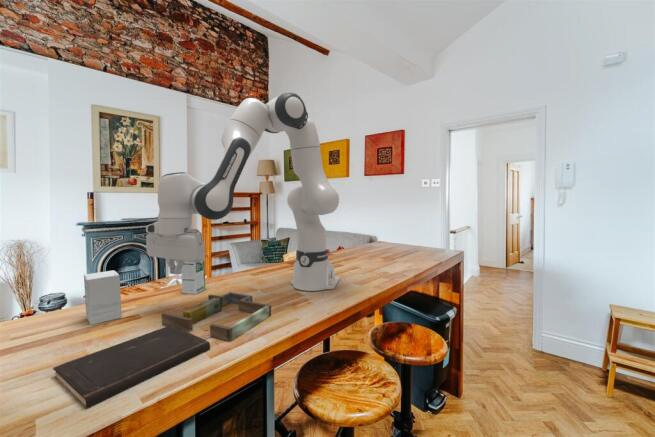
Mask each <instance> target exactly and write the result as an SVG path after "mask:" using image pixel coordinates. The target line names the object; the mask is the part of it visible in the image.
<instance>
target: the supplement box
mask: <svg viewBox="0 0 655 437" xmlns="http://www.w3.org/2000/svg"><path fill="white" fill-rule="evenodd" d="M120 277H121V276H120V274H119V273H118V272H117V271H116V270H107V271H100V272H93V273H86V274H83V284H84V297H85V298H84V301H85V318H86V319H87V322H88V323H90V324H89V326H93V325H96V324H99V323H100V324H101V323H106V322H108V321H113V320H117V319H121V318H123V317H122V316H123V315H122V296H121V278H120Z"/></svg>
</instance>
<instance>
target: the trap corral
mask: <svg viewBox="0 0 655 437" xmlns="http://www.w3.org/2000/svg"><path fill="white" fill-rule="evenodd" d="M212 298H221V308H222V307H224V306H225V305H226V306H227V305H229V304H230V303H231V304H236V305H237V304H238V311H239V312H243V313H249V314H248V315H247V316H246V317H244V318H242V319H241V320H238V321H237V322H235V323H233V324H231V325H230V326H226V325H222V324H218V323H210V325H209V329H210V331H209V334H210V335H209V336H210V338H214V339H217V340H222V341H225V342H230V343H231V341H233V340H234V339H236V338H237V337H239V336H240V335H242V334H244V333H245V332H247V331H249V330H250V329H251V328H253V327H255V326H256V325H258V324H259V323H261V322H263V321H264V320H266V319H268V318H269V317H271V316H272V305H271V304H266V303H262V302H261V303H260V302H255V301H254V302H253V295H248V294H243V293H237V292H232V291H231V292H226V293H225V294H222V295H217V294H216V295H215V294H208V295H207V301H208V300H210V299H212ZM161 325H162V326H165V327H167V326H170V325H172V326H175V327H177V328H179V329H181V330H184V331H186V332H188V333H190V332H191V331H193V330H194V329H193V325H192V319H191V318H187V317H183V315H177V314H172V313H169V312H162V313H161Z"/></svg>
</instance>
